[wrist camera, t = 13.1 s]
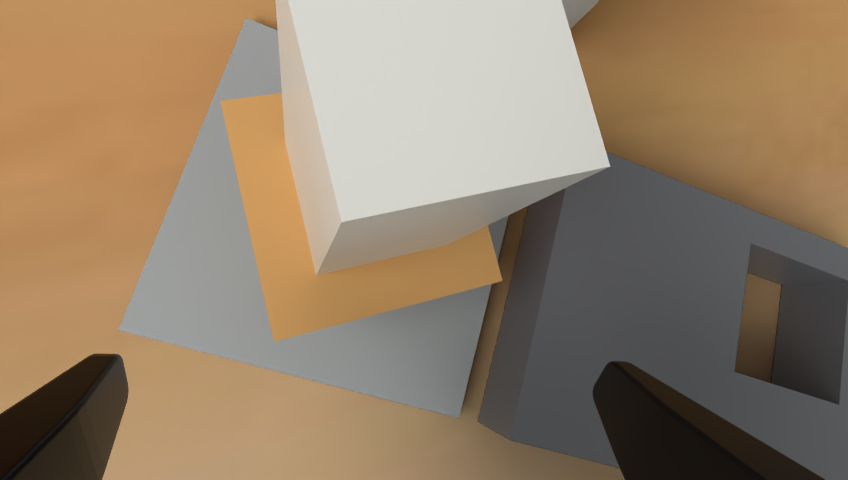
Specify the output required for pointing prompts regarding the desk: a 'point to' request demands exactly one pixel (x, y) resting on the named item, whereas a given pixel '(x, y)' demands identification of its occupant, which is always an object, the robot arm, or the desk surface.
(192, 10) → the desk surface
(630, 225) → the gray slab with hole
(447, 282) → the white and tan block
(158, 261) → the mat
